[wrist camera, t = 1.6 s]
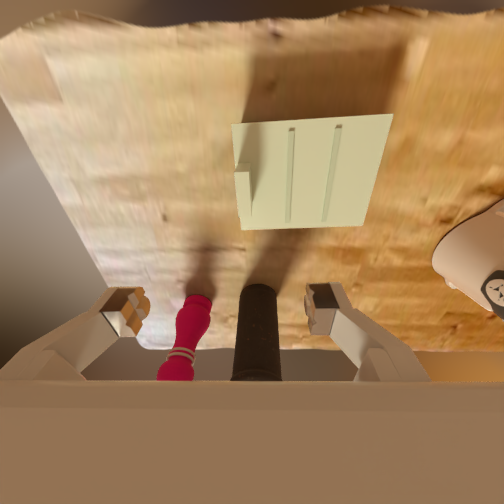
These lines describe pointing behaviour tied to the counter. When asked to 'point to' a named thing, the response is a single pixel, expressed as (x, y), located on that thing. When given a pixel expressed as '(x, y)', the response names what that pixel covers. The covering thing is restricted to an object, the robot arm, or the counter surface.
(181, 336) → the pepper mill
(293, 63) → the counter surface
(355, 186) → the lid
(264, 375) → the container
